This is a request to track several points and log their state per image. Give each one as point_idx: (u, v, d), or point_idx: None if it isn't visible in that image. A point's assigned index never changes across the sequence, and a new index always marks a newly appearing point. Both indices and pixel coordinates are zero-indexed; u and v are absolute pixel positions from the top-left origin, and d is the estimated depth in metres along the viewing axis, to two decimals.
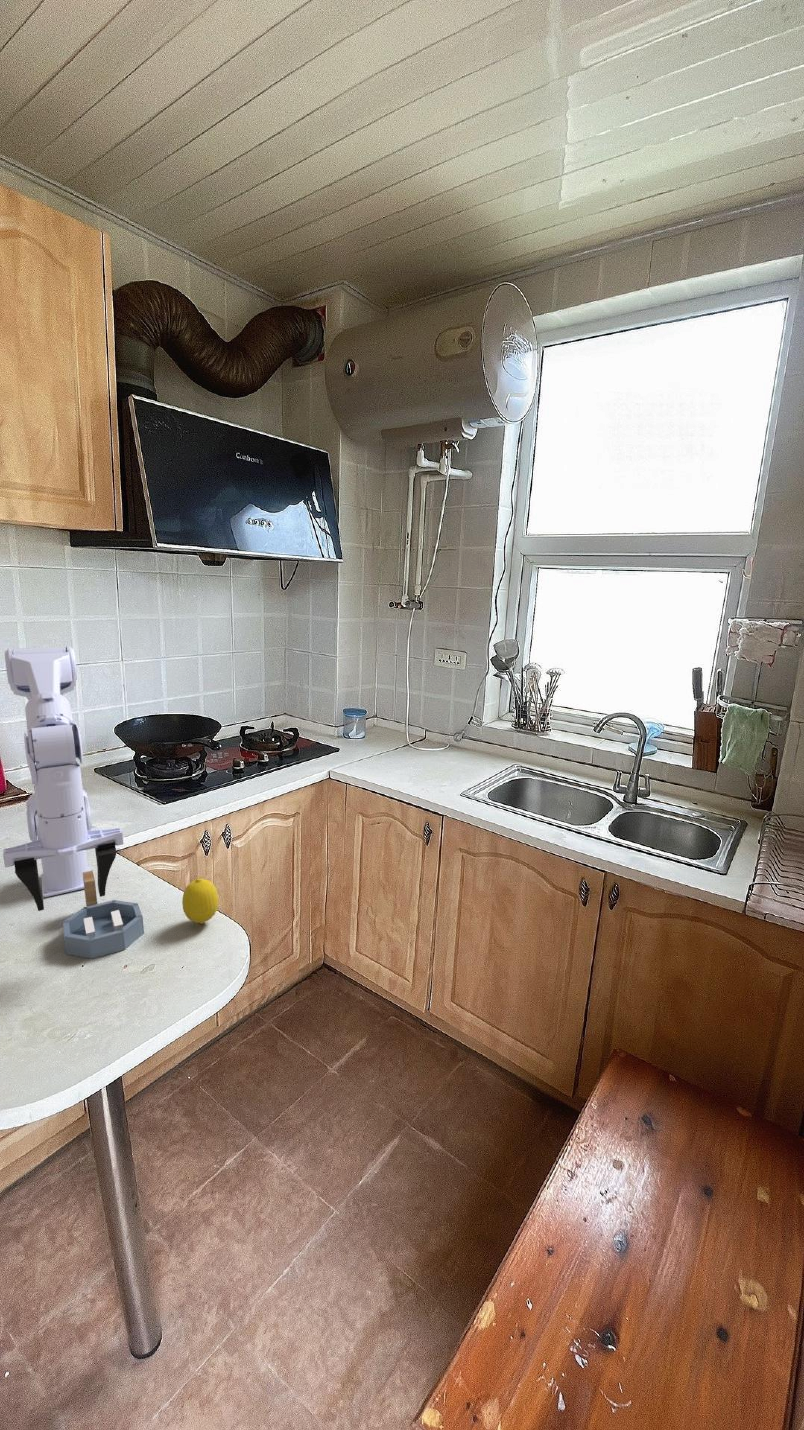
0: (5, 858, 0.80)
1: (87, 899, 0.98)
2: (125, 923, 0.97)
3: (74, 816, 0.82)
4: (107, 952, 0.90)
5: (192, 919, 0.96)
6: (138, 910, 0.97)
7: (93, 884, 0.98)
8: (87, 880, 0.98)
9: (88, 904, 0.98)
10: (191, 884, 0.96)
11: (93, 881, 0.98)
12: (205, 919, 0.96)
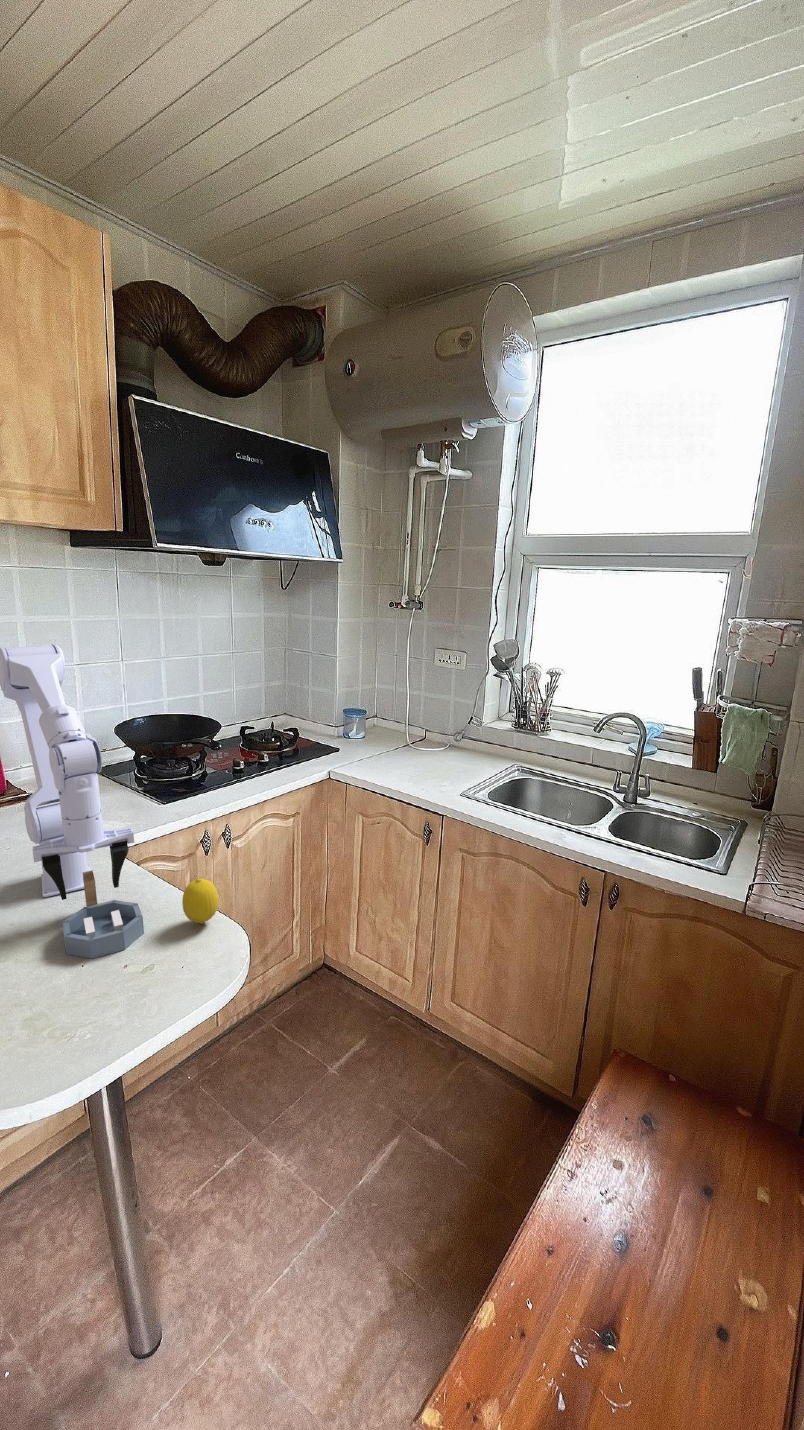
0: (34, 854, 0.94)
1: (87, 899, 0.98)
2: (125, 923, 0.97)
3: (93, 818, 0.96)
4: (107, 952, 0.90)
5: (192, 919, 0.96)
6: (138, 910, 0.97)
7: (93, 884, 0.98)
8: (87, 880, 0.98)
9: (88, 904, 0.98)
10: (191, 884, 0.96)
11: (93, 881, 0.98)
12: (205, 919, 0.96)
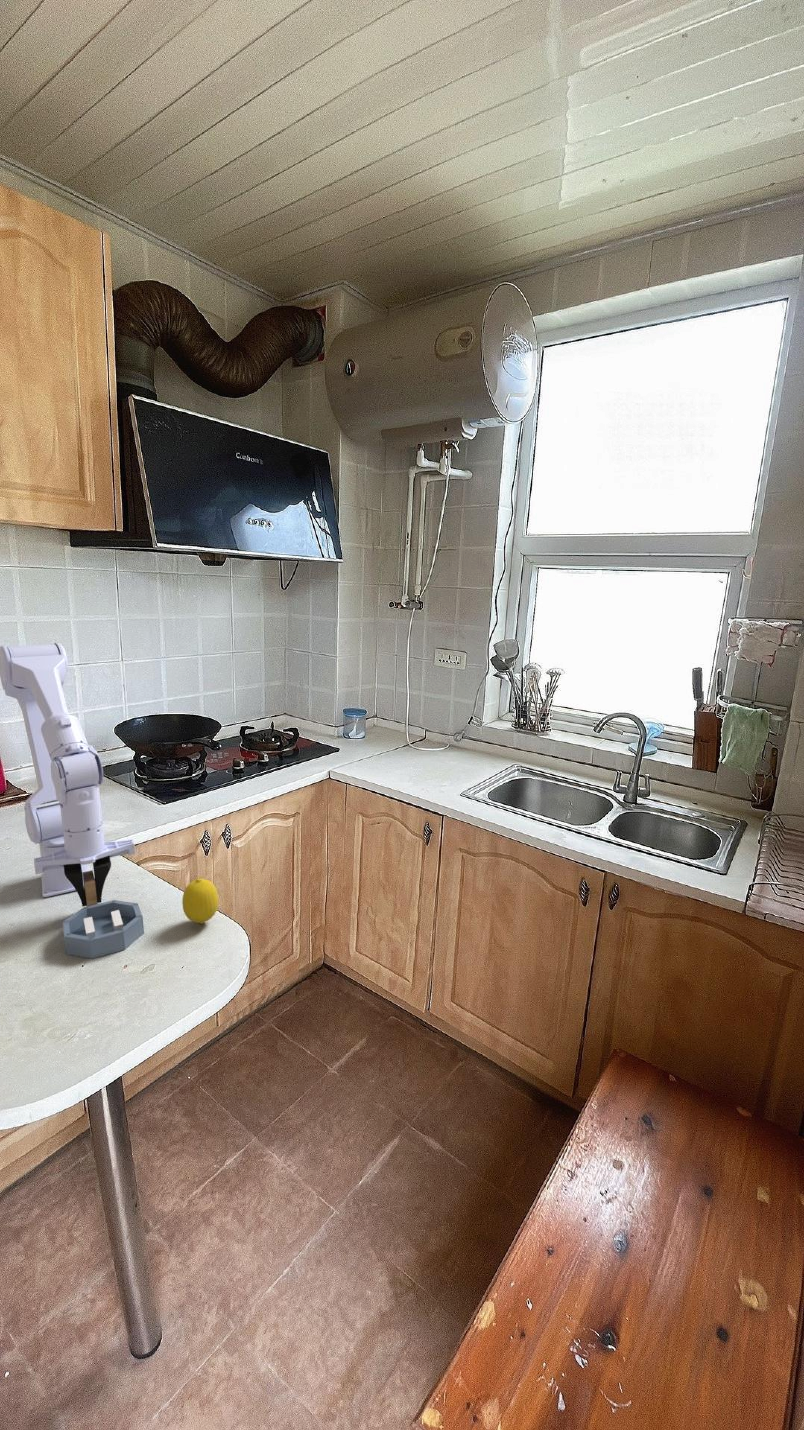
0: (36, 866, 0.94)
1: (87, 899, 0.98)
2: (125, 923, 0.97)
3: (94, 830, 0.96)
4: (107, 952, 0.90)
5: (192, 919, 0.96)
6: (138, 910, 0.97)
7: (93, 884, 0.98)
8: (87, 880, 0.98)
9: (88, 904, 0.98)
10: (191, 884, 0.96)
11: (93, 881, 0.98)
12: (205, 919, 0.96)
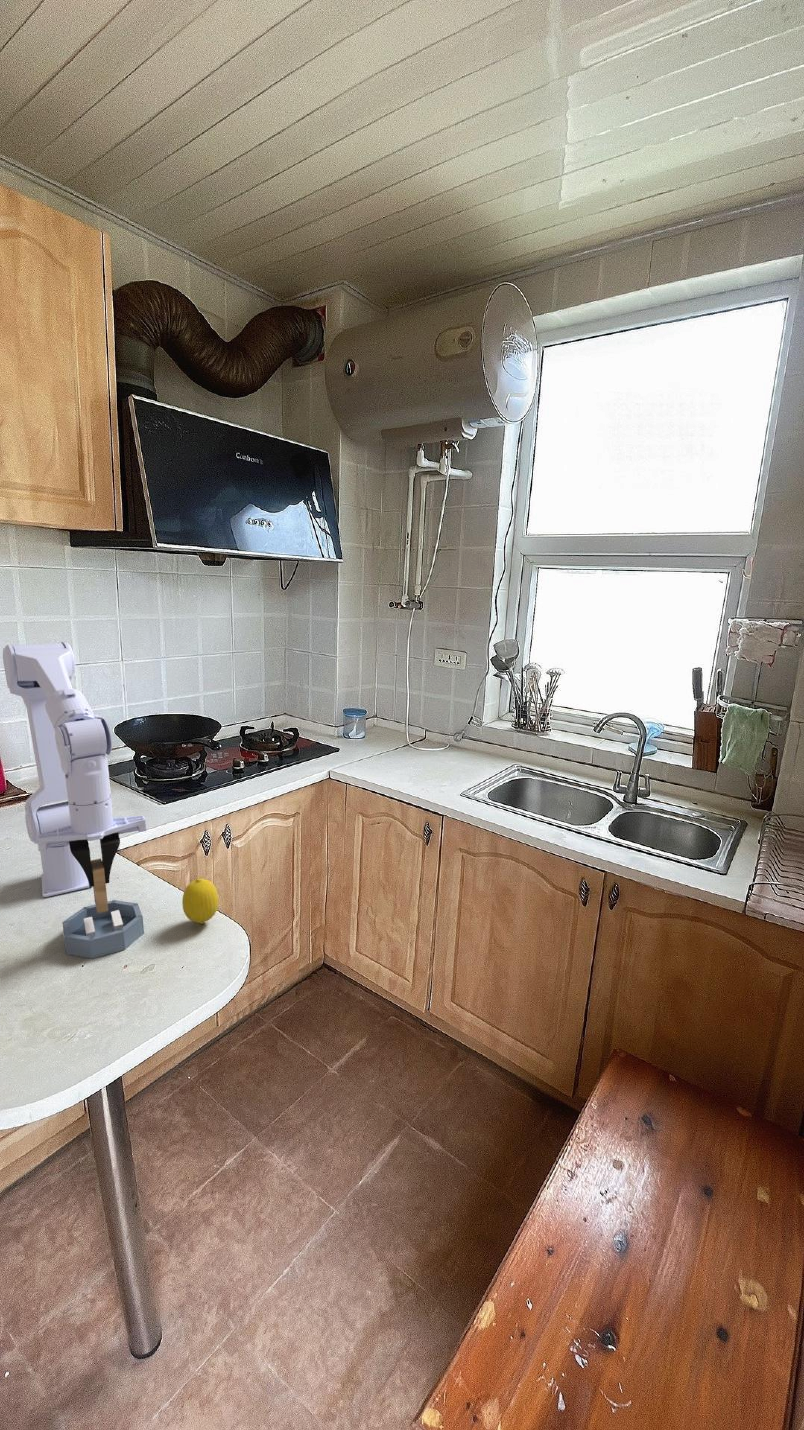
0: (39, 842, 0.86)
1: (96, 889, 0.91)
2: (125, 923, 0.97)
3: (102, 804, 0.89)
4: (107, 952, 0.90)
5: (192, 919, 0.96)
6: (138, 910, 0.97)
7: (102, 873, 0.91)
8: (96, 869, 0.90)
9: (97, 894, 0.91)
10: (191, 884, 0.96)
11: (102, 869, 0.91)
12: (205, 919, 0.96)
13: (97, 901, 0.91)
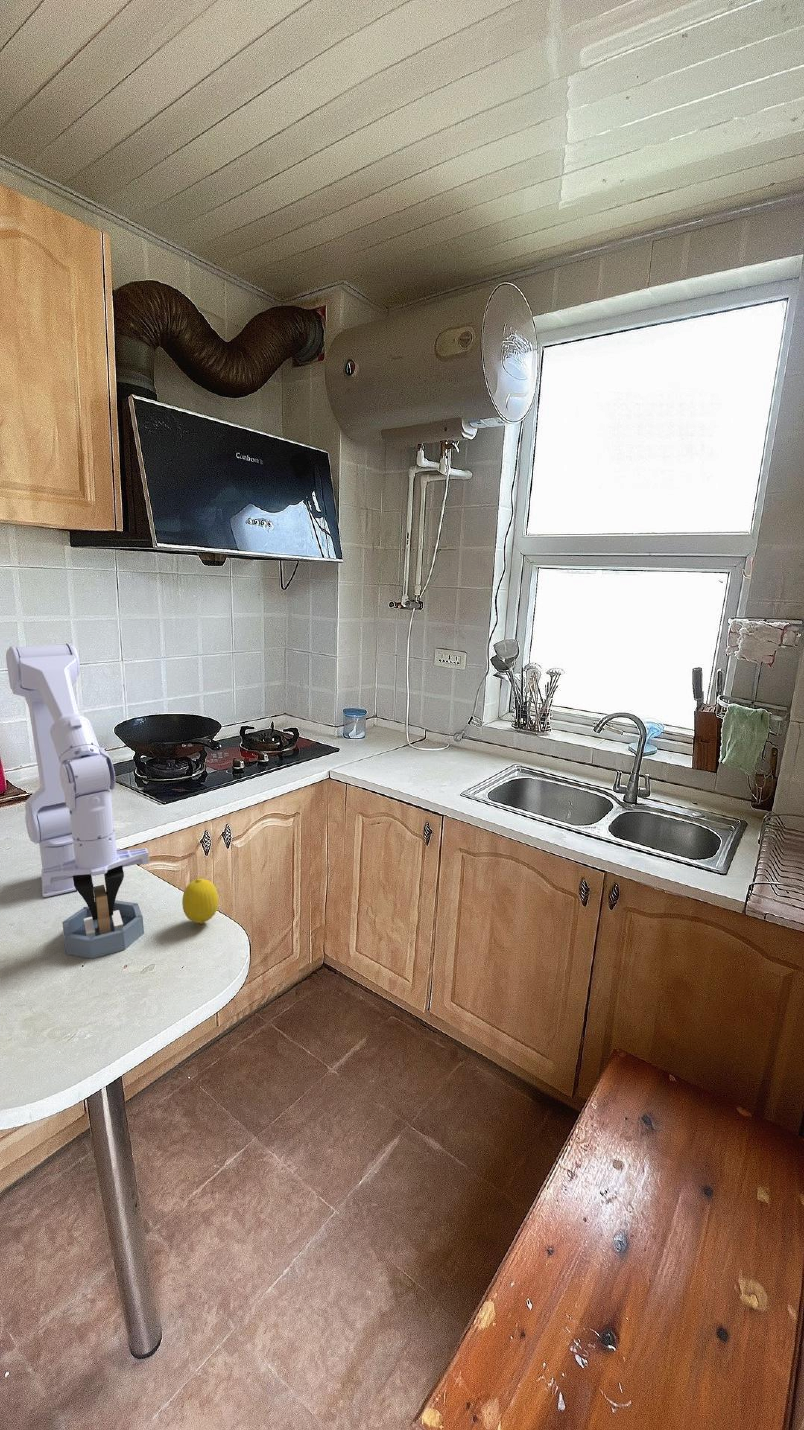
0: (43, 877, 0.88)
1: (99, 916, 0.92)
2: (125, 923, 0.97)
3: (106, 838, 0.90)
4: (107, 952, 0.90)
5: (192, 919, 0.96)
6: (138, 910, 0.97)
7: (105, 900, 0.92)
8: (99, 896, 0.91)
9: (100, 921, 0.92)
10: (191, 884, 0.96)
11: (105, 896, 0.92)
12: (205, 919, 0.96)
13: (100, 928, 0.92)
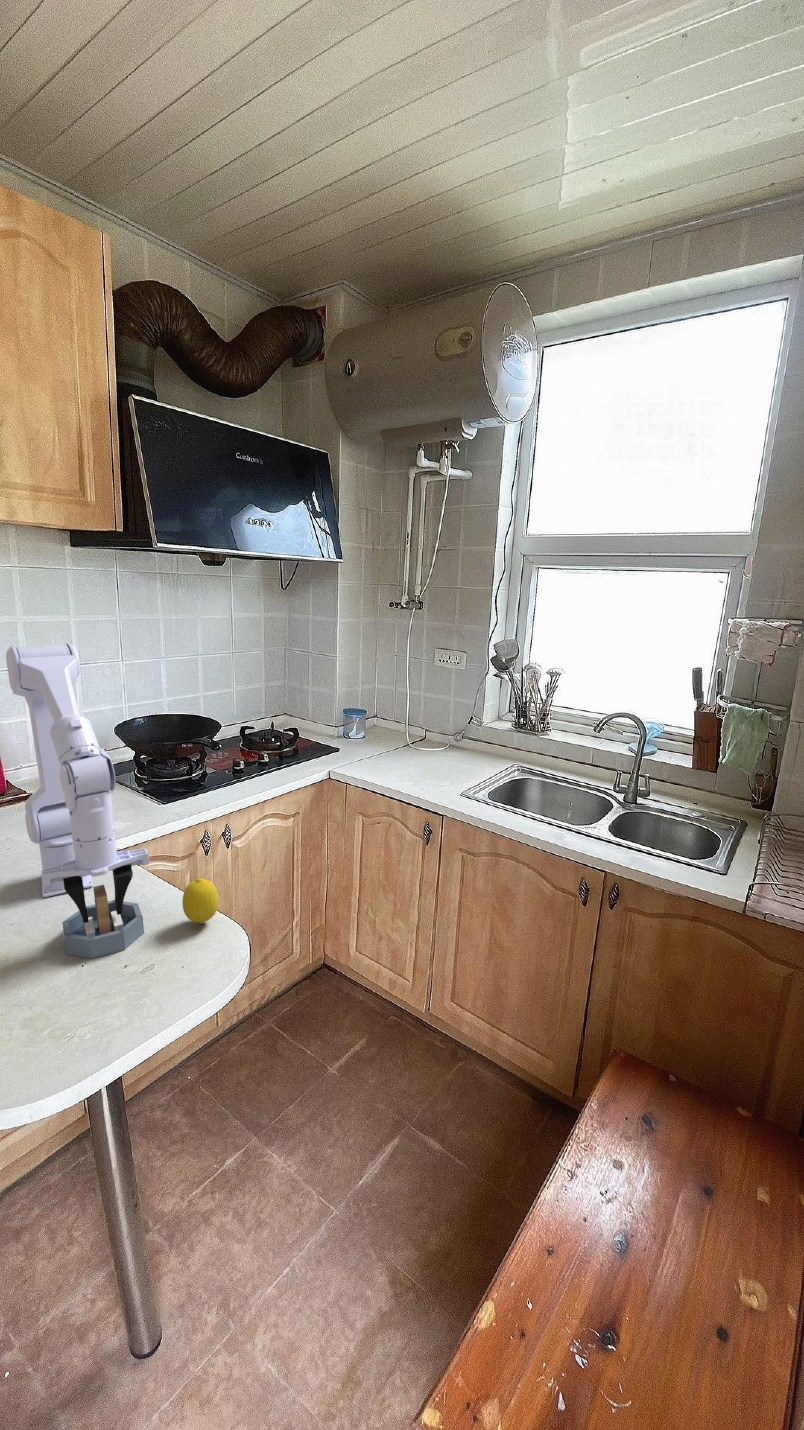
0: (44, 878, 0.88)
1: (99, 916, 0.92)
2: (125, 923, 0.97)
3: (106, 839, 0.90)
4: (107, 952, 0.90)
5: (192, 919, 0.96)
6: (138, 910, 0.97)
7: (105, 900, 0.92)
8: (99, 896, 0.91)
9: (100, 921, 0.92)
10: (191, 884, 0.96)
11: (105, 896, 0.92)
12: (205, 919, 0.96)
13: (100, 928, 0.92)
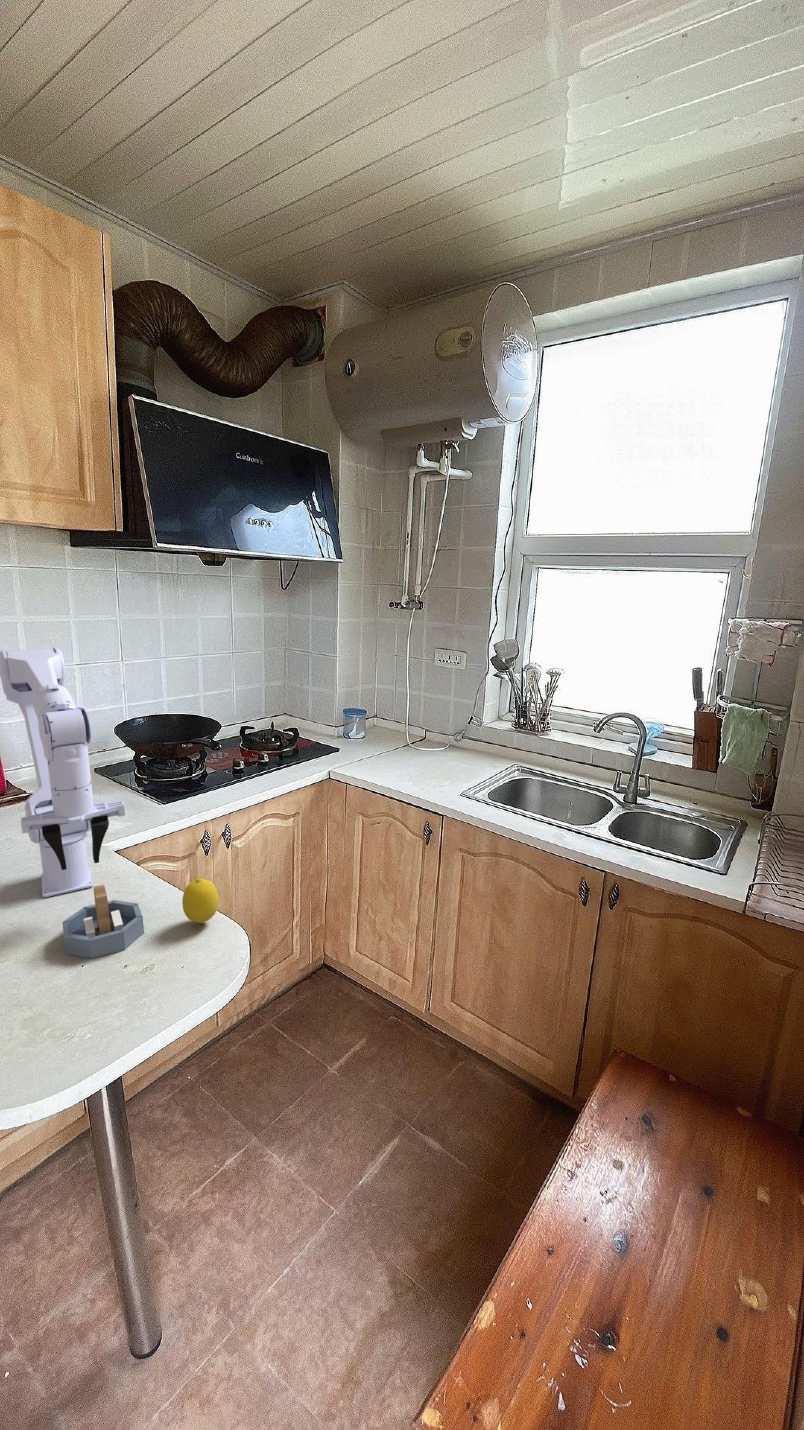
0: (23, 825, 0.92)
1: (99, 916, 0.92)
2: (125, 923, 0.97)
3: (82, 789, 0.94)
4: (107, 952, 0.90)
5: (192, 919, 0.96)
6: (138, 910, 0.97)
7: (105, 900, 0.92)
8: (99, 896, 0.91)
9: (100, 921, 0.92)
10: (191, 884, 0.96)
11: (105, 896, 0.92)
12: (205, 919, 0.96)
13: (100, 928, 0.92)
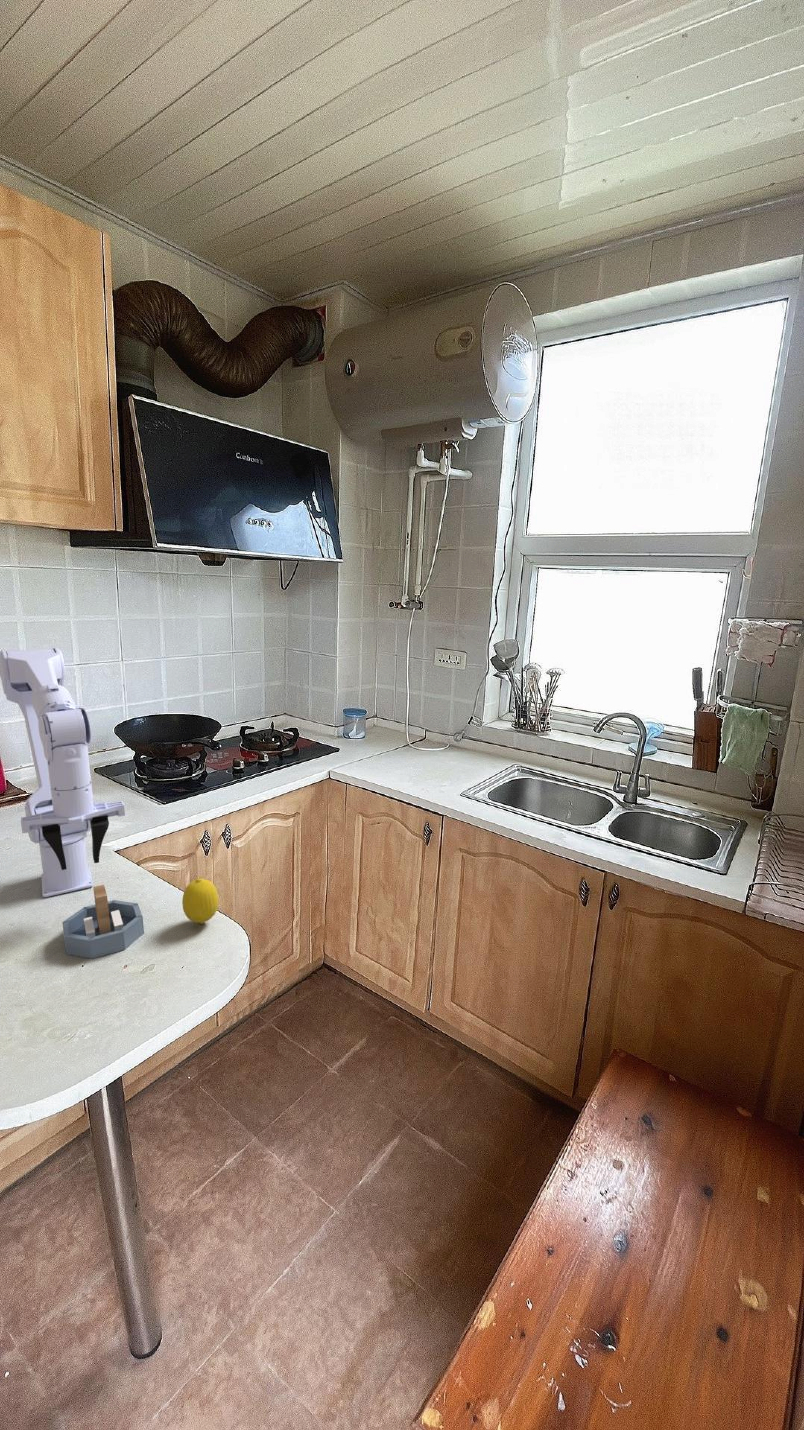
0: (23, 825, 0.92)
1: (99, 916, 0.92)
2: (125, 923, 0.97)
3: (82, 789, 0.94)
4: (107, 952, 0.90)
5: (192, 919, 0.96)
6: (138, 910, 0.97)
7: (105, 900, 0.92)
8: (99, 896, 0.91)
9: (100, 921, 0.92)
10: (191, 884, 0.96)
11: (105, 896, 0.92)
12: (205, 919, 0.96)
13: (100, 928, 0.92)
